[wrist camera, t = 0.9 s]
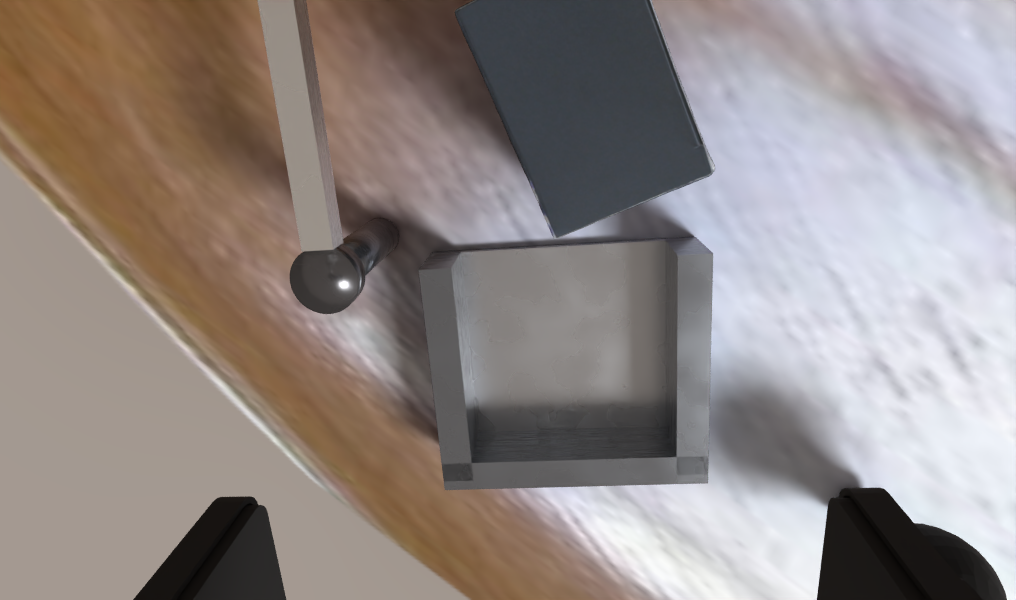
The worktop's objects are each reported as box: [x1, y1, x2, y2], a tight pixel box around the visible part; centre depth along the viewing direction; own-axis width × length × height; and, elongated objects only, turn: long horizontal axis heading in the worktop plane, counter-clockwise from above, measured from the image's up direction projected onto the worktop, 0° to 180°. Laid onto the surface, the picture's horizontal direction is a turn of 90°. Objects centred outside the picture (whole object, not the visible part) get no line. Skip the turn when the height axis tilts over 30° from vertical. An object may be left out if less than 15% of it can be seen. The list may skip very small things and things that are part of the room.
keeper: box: [342, 218, 713, 490], centre depth 29 cm, size 13×16×7 cm
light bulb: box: [914, 523, 1007, 600], centre depth 30 cm, size 6×6×10 cm
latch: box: [258, 0, 365, 314], centre depth 22 cm, size 13×3×2 cm, turn 4°
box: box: [455, 0, 715, 239], centre depth 24 cm, size 8×6×11 cm
